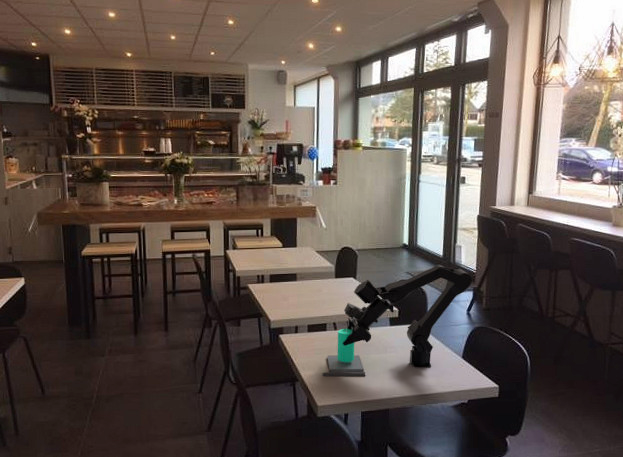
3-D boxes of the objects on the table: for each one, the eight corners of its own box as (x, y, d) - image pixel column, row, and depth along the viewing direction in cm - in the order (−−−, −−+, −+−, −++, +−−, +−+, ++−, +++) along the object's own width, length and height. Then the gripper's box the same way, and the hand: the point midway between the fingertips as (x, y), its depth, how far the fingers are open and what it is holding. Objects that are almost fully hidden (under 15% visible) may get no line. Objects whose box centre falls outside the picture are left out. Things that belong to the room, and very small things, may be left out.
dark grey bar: (364, 375, 191) (364, 371, 191) (365, 377, 190) (365, 373, 190) (322, 375, 190) (322, 371, 190) (322, 377, 189) (322, 373, 189)
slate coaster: (359, 357, 205) (359, 355, 205) (363, 371, 193) (363, 369, 193) (327, 357, 205) (327, 355, 204) (329, 371, 193) (329, 369, 193)
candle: (347, 363, 194) (348, 331, 192) (334, 359, 198) (334, 327, 196) (357, 358, 199) (358, 327, 197) (343, 354, 203) (344, 323, 201)
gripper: (354, 289, 204) (324, 318, 205) (362, 304, 186) (329, 336, 187) (374, 309, 206) (344, 337, 207) (384, 326, 188) (352, 357, 189)
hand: (342, 341), depth 197 cm, fingers closed on candle, 5 cm apart
